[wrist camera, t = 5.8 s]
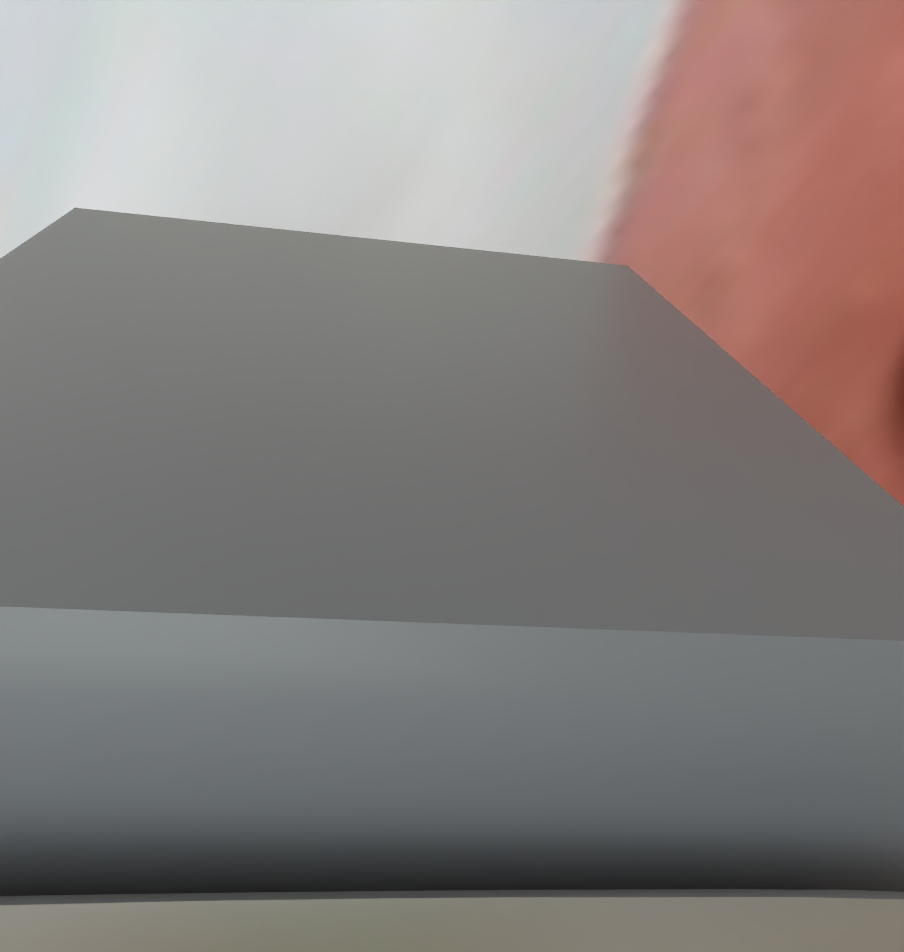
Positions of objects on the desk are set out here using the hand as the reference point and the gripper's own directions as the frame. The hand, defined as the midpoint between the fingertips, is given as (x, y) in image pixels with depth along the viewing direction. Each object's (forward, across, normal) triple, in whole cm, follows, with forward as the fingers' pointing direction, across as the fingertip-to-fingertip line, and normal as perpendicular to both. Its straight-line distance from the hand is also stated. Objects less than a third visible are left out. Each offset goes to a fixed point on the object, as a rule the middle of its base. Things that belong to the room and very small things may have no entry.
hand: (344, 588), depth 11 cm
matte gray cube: (+3, 0, 0) cm, 3 cm away
